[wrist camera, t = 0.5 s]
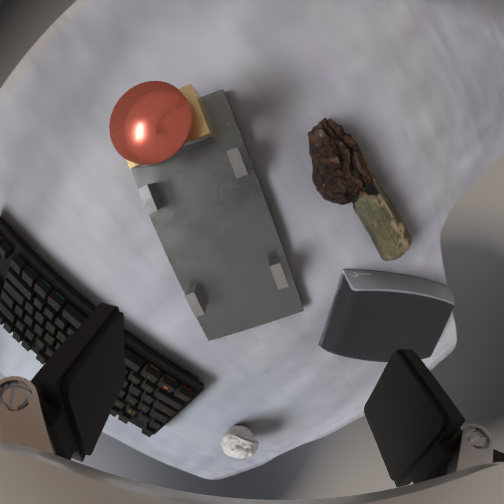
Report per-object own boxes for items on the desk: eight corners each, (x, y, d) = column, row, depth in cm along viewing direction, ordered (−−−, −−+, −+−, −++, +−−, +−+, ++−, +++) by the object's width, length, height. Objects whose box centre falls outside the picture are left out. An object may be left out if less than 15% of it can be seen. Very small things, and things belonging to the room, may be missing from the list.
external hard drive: (343, 262, 37) (353, 273, 33) (450, 282, 38) (465, 293, 34) (315, 347, 40) (321, 364, 37) (419, 353, 42) (430, 367, 38)
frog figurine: (265, 422, 45) (267, 453, 38) (245, 441, 46) (245, 471, 40) (233, 411, 44) (232, 443, 37) (215, 431, 45) (212, 462, 39)
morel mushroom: (402, 232, 36) (424, 244, 30) (364, 262, 37) (381, 279, 31) (328, 115, 31) (343, 107, 26) (283, 147, 32) (290, 145, 27)
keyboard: (207, 376, 42) (203, 398, 37) (157, 422, 46) (151, 442, 41) (1, 208, 34) (-19, 215, 29) (-17, 280, 37) (-34, 290, 32)
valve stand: (221, 85, 30) (209, 53, 19) (302, 306, 38) (320, 356, 27) (120, 130, 31) (73, 122, 20) (209, 335, 39) (199, 390, 29)
